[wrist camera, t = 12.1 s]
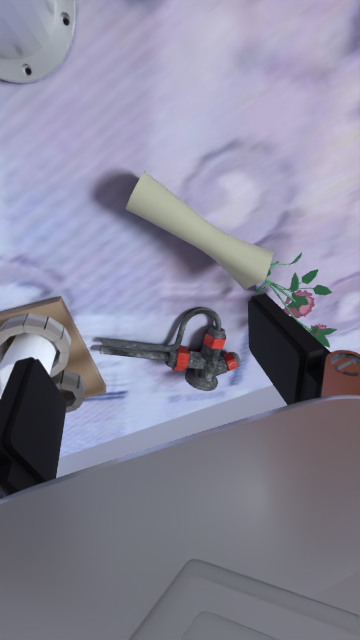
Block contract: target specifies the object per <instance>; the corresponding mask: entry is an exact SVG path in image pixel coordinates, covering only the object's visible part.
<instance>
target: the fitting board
mask: <svg viewBox="0 0 360 640" xmlns="http://www.w3.org/2000/svg"><path fill="white" fill-rule="evenodd" d="M21 333H32V334H39V335H43V336H44V337H46V338H48V339H49V340H51V341H53V342H54V343H55V344H56V346H57V348H58V349H57V352H56V355H55V358H54V361H53V364H52V368H51V371H50V374H49V375H50V377H51V378H52V380H53V381H54V383H55V384H56V386H57V388H58V389H59V391H60V392H61V394H62V395H63V397H64V398H65V400H66V413H67V412H71V411H74V410H77V408H79V407H80V405H81V404H82V402H83V401H84V399H85V398H88V397H92V396H95V395H99V394H102V393H105V392H106V385H105V383H104V381H103V379H102V377H101V375H100V373H99V371H98V369H97V367H96V365H95V363H94V361H93V359H92V357H91V355H90V353H89V351H88V349H87V347H86V345H85V343H84V341H83V339H82V337H81V335H80V333H79V331H78V329H77V327H76V325H75V323H74V321H73V319H72V317H71V315H70V313H69V311H68V309H67V307H66V305H65V303H64V301H63V299H62V297H61V296H60V297H56V298H52V299H48V300H45V301H41V302H37V303H33V304H29V305H25V306H22V307H18V308H14V309H10V310H6V311H2V312H0V363H1V361H2V360H3V358H4V356H5V354H6V352H7V350H8V349H9V347H10V346H11V344H12V342H13V340H14V339H15V337H16V335H17V334H21Z"/></svg>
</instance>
